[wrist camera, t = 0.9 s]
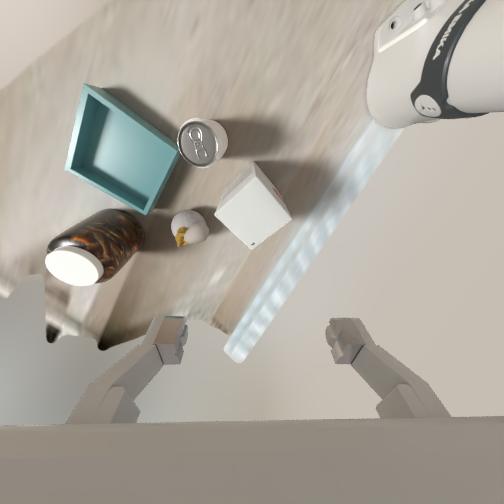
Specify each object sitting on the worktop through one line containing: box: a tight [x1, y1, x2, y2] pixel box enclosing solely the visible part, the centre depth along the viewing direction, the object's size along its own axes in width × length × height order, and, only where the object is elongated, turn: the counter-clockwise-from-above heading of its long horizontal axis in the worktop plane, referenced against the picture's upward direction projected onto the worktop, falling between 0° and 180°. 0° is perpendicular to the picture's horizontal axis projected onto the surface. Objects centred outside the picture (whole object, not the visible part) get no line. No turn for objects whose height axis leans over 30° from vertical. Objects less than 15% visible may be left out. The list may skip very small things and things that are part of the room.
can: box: [177, 118, 228, 168], centre depth 32 cm, size 6×6×12 cm
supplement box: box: [214, 161, 292, 250], centre depth 36 cm, size 9×9×15 cm
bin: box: [65, 84, 181, 215], centre depth 36 cm, size 15×15×4 cm
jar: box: [45, 209, 145, 286], centre depth 40 cm, size 12×12×15 cm
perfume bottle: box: [171, 210, 209, 247], centre depth 40 cm, size 8×10×12 cm
